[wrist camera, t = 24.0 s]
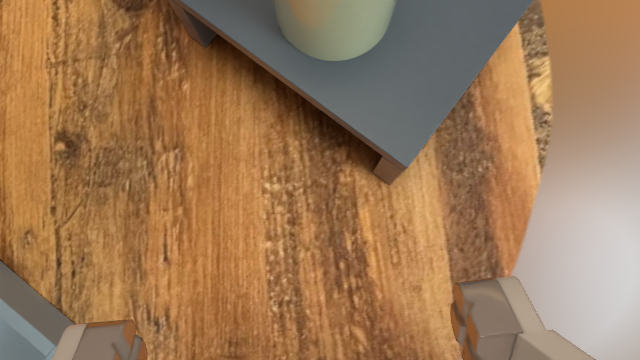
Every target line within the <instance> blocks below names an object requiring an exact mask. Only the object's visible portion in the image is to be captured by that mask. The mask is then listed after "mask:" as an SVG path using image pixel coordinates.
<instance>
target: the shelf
mask: <svg viewBox="0 0 640 360" xmlns="http://www.w3.org/2000/svg"><path fill="white" fill-rule="evenodd" d="M533 1H534V0H397V2H396V5H395V9H394V12H393V15H392V19H391V22H390V25H389V27H388V29H387V31H386V33H385V34H384V36H383V37H382V39H381V40H380V41H379V42H378V43H377V44H376V45H375V46H374V47H373V48H371V49H370V50H369V51H367V52H365V53H364V54H362V55H360V56H358V57H355V58H352V59H348V60H343V61H325V60H320V59H316V58H313V57H310V56H308V55H306V54H304V53H302V52H301V51H299V50H297V49H296V48H295V47H294V46H293V45H291V43H290V42H289V41H288V40H287V39H286V38H285V36H284V35H283V33H282V32H281V30H280V28H279V26H278V23H277V20H276V15H275V10H274V6H273V1H272V0H168V2H169V3H170V5H171V7H172V8H173V10H174V11H175V13H176V15H177V16H178V18H179V19H180V21H181V23H182V24H183V26H184V27H185V29H186V31H187V32H188V34H189V35H190V37H191V38H193V39H194V40H195V41H197V42H198V43H199V44H201V45H202V46H203V47H205V48H206V47H207V46H208V45H209V43H210V42H211V41H212V40H213V39H214V38H215V36H216V35H217V34H219V35H220V36H221V37H223V38H224V39H225V40H227V41H228V42H229V43H231V44H232V45H233V46H235V47H236V48H237V49H239V50H240V51H241V52H243V53H244V54H246V55H247V56H248V57H250V58H251V59H252V60H254V61H255V62H256V63H258V64H259V65H260V66H262V67H263V68H264V69H266V70H267V71H268V72H270V73H271V74H273V75H274V76H275V77H277V78H278V79H279V80H281V81H282V82H283V83H285V84H286V85H287V86H289V87H290V88H291V89H293V90H294V91H295V92H297V93H298V94H300V95H301V96H302V97H304V98H305V99H306V100H308V101H309V102H310V103H312V104H313V105H314V106H316V107H317V108H318V109H320V110H321V111H322V112H324V113H325V114H327V115H328V116H329V117H331V118H332V119H333V120H335V121H336V122H337V123H339V124H340V125H341V126H343V127H344V128H345V129H347V130H348V131H349V132H351V133H352V134H354V135H355V136H356V137H358V138H359V139H360V140H362V141H363V142H364V143H366V144H367V145H368V146H370V147H371V148H372V149H374V150H375V151H376V152H378V153H379V154H381V155H382V158H381V160H380V161H379V163H378V164H377V166H376V167H375V169H374V171H373V173H374V174H375V175H376V176H378V177H379V178H380V179H382V180H383V181H384V182H386V183H387V184H388V185H390V184H392V183H393V182H394V181H395V180H396V179H397V178H398V177H399V176H400V175H401V174H402V173H403V172H404V171H405V170H406V169H407V168H408V167H409V165H410V164H411V163H412V161H413V160H414V159H415V157H416V156H417V155H418V153H419V152H420V151H421V149H422V148H423V147H424V146H425V144H426V143H427V142H428V140H429V139H430V138H431V136H432V135H433V134H434V132H435V131H436V130H437V128H438V127H439V126H440V124H441V123H442V122H443V120H444V119H445V118H446V116H447V115H448V114H449V112H450V111H451V110H452V108H453V107H454V106H455V104H456V103H457V102H458V100H459V99H460V98H461V96H462V95H463V94H464V92H465V91H466V90H467V88H468V87H469V86H470V84H471V83H472V82H473V80H474V79H475V78H476V76H477V75H478V74H479V72H480V71H481V70H482V68H483V67H484V66H485V64H486V63H487V62H488V60H489V59H490V58H491V56H492V55H493V54H494V52H495V51H496V50H497V48H498V47H499V46H500V44H501V43H502V42H503V40H504V39H505V38H506V36H507V35H508V34H509V33H510V31H511V30H512V29H513V27H514V26H515V25H516V23H517V22H518V21H519V19H520V18H521V17H522V15H523V14H524V13H525V11H526V10H527V9H528V7H529V6H530V5H531V3H532V2H533Z"/></svg>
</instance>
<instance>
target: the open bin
mask: <svg viewBox="0 0 640 360" xmlns="http://www.w3.org/2000/svg"><path fill="white" fill-rule="evenodd" d="M69 325H75V324H74V323H73V322H72V321H71V320H70V319H68V318H67V317H66V316H65V315H64V314H62V313H61V312H60V311H59V310H58V309H57V308H55V307H54V306H53V305H52V304H51V303H49V302H48V301H47V300H46V299H45V298H44V297H42V296H41V295H40V294H39V293H38V292H37V291H35V290H34V289H33V288H32V287H31V286H29V285H28V284H27V283H26V282H25V281H24V280H22V279H21V278H20V277H19V276H18V275H17V274H15V273H14V272H13V271H12V270H11V269H9V268H8V267H7V266H6V265H5V264H4V263H2V262H1V261H0V360H51V359H52V357H53V355H54V352H55V350H56V348H57V346H58V343H59V341H60V339H61V337H62V334H63V332H64V330H65V329H66V328H67V327H68V326H69Z"/></svg>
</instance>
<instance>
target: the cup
mask: <svg viewBox="0 0 640 360" xmlns="http://www.w3.org/2000/svg"><path fill="white" fill-rule="evenodd" d="M272 1H273V6H274V10H275V15H276V20H277V23H278V26H279V28H280V30H281V32H282V33H283V35H284V36H285V38H286V39H287V40H288V41H289V42H290V43H291V45H293V46H294V47H295V48H296V49H297V50H299V51H301V52H302V53H304V54H306V55H308V56H310V57H313V58H316V59H320V60H325V61H343V60H348V59H352V58H355V57H358V56H360V55H362V54H364V53H365V52H367V51H369V50H370V49H371V48H373V47H374V46H375V45H376V44H377V43H378V42H379V41H380V40H381V39H382V37H383V36H384V34H385V33H386V31H387V29H388V27H389V25H390V22H391V19H392V15H393V12H394V9H395V5H396V2H397V0H272Z"/></svg>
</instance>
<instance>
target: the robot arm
mask: <svg viewBox="0 0 640 360" xmlns="http://www.w3.org/2000/svg"><path fill="white" fill-rule="evenodd" d="M453 295H454V298H455V301H454V302H453V303H452V304H451V311H450V314H451V324H452V328H453V332H454V335H455V338H456V341H457V342H459V343H460V344H461V345H462V346H463V353H462V358H463V360H595V359H594V358H592V357H591V356H590V355H588V354H587V353H585V352H584V351H582V350H581V349H580V348H578V347H576V346H575V345H574V344H572V343H571V342H569V341H568V340H567V339H565V338H564V337H562V336H561V335H559V334H558V333H557V332H555V331H554V330H546V328H545V327H544V325H543V323H542V321H541V319H540V317H539V315H538V314H537V312H536V310H535V308H534V306H533V304H532V303H531V301H530V299H529V297H528V295H527V294H526V292H525V290H524V288H523V286H522V285H521V283H520V281H519V279H518V278H516V277H515V276H511V277H502V278H495V279H494V278H490V279H482V280H474V281H466V282H458V283H455V284H454V286H453ZM136 329H137V326H136V325H135V323H134V321H133V320H119V321H107V322H95V323H85V324H75V325H69V326H68V327H67V328H66V329H65V330H64V332H63V334H62V337H61V339H60V341H59V343H58V346H57V348H56V350H55V352H54V355H53V357H52V359H51V360H147V348H146V344H145V342H144V340H143V338H141V337H139V336H138V335H136V334H135V333H136Z"/></svg>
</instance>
